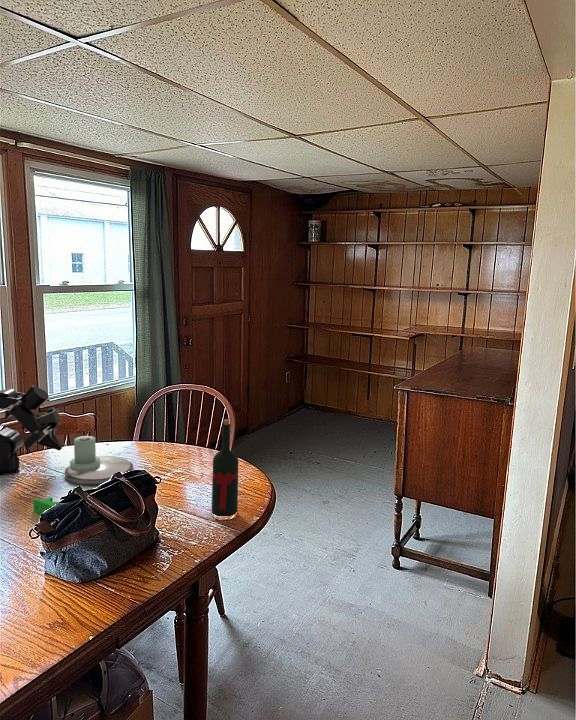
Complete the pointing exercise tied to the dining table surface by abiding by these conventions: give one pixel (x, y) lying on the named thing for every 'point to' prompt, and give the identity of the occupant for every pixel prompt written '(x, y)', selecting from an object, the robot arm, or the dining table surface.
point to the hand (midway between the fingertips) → (60, 449)
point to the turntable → (99, 471)
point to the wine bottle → (225, 477)
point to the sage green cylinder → (84, 454)
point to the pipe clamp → (42, 505)
